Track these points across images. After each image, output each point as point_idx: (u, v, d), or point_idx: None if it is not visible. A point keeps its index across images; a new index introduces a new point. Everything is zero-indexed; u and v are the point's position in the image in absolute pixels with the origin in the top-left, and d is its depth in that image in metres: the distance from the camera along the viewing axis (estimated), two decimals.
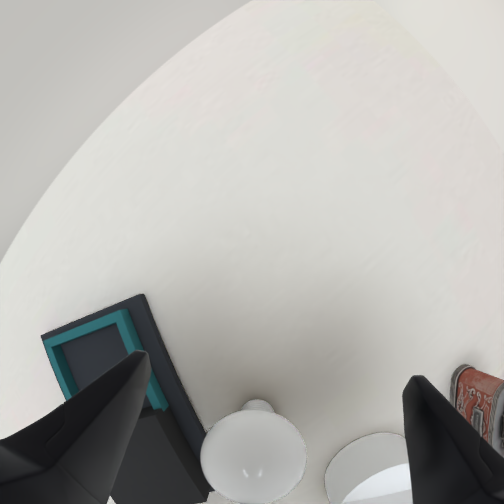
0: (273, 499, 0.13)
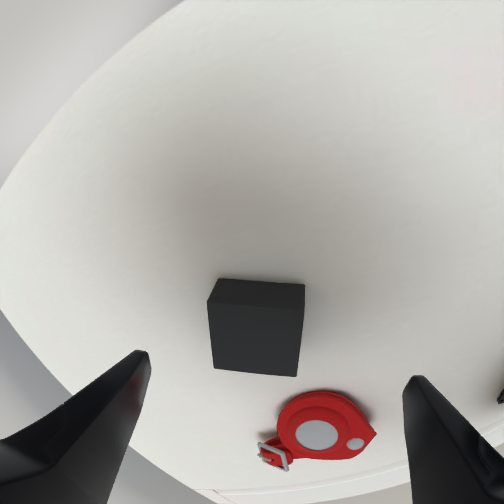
0: None
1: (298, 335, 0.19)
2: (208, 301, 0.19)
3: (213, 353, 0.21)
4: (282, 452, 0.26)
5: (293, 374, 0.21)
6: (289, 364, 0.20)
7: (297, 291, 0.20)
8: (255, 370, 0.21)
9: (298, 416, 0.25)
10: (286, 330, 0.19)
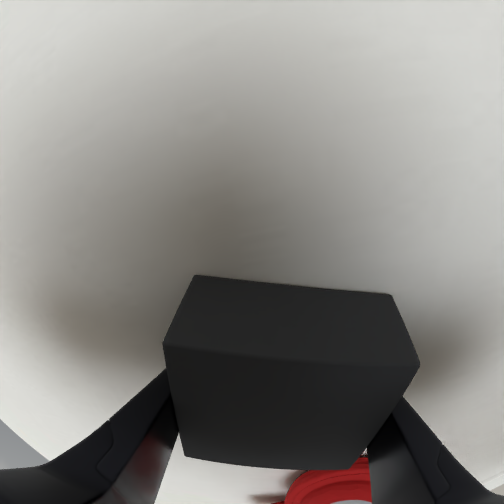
0: None
1: (384, 414, 0.07)
2: (167, 342, 0.07)
3: (183, 438, 0.09)
4: None
5: (345, 467, 0.09)
6: (344, 456, 0.08)
7: (385, 312, 0.08)
8: (270, 465, 0.09)
9: (323, 494, 0.13)
10: (363, 406, 0.07)
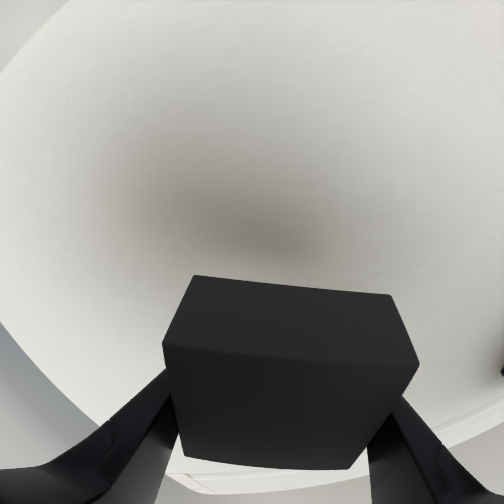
0: None
1: (383, 414, 0.07)
2: (166, 341, 0.07)
3: (182, 438, 0.09)
4: None
5: (345, 467, 0.09)
6: (344, 456, 0.08)
7: (385, 312, 0.08)
8: (270, 465, 0.09)
9: None
10: (362, 407, 0.07)
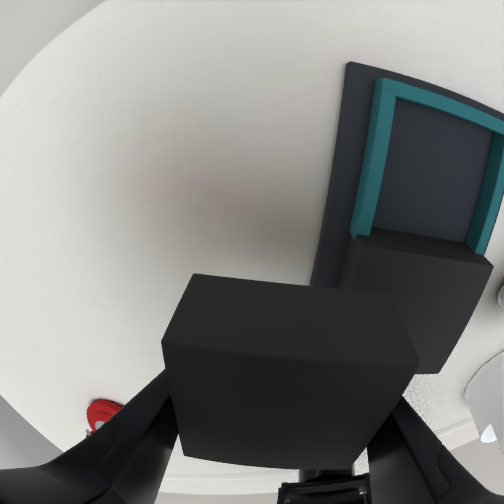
0: None
1: (385, 413, 0.07)
2: (165, 340, 0.07)
3: (182, 437, 0.08)
4: None
5: (345, 466, 0.09)
6: (344, 456, 0.08)
7: (385, 310, 0.08)
8: (270, 465, 0.09)
9: (94, 415, 0.30)
10: (363, 406, 0.07)
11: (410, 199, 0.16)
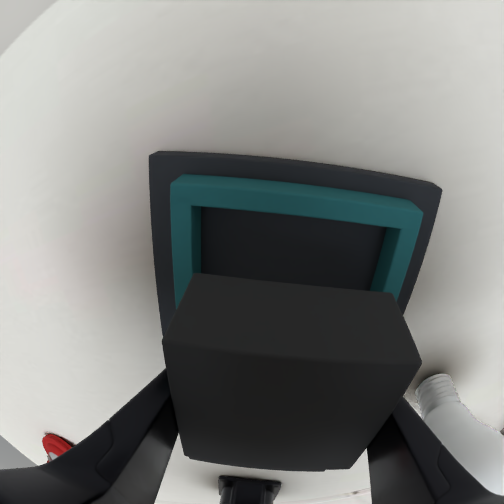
0: None
1: (386, 413, 0.07)
2: (166, 339, 0.07)
3: (182, 437, 0.08)
4: None
5: (346, 466, 0.09)
6: (345, 455, 0.08)
7: (386, 310, 0.08)
8: (271, 465, 0.09)
9: (47, 447, 0.28)
10: (364, 406, 0.07)
11: None
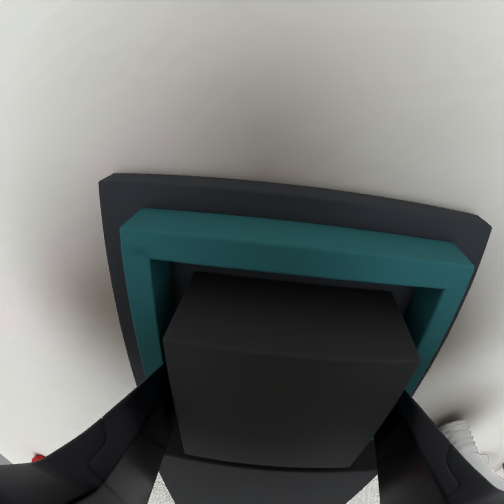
0: None
1: (385, 411, 0.07)
2: (167, 338, 0.07)
3: (183, 435, 0.09)
4: None
5: (345, 465, 0.09)
6: (345, 454, 0.08)
7: (385, 309, 0.08)
8: (270, 463, 0.09)
9: None
10: (363, 404, 0.07)
11: None
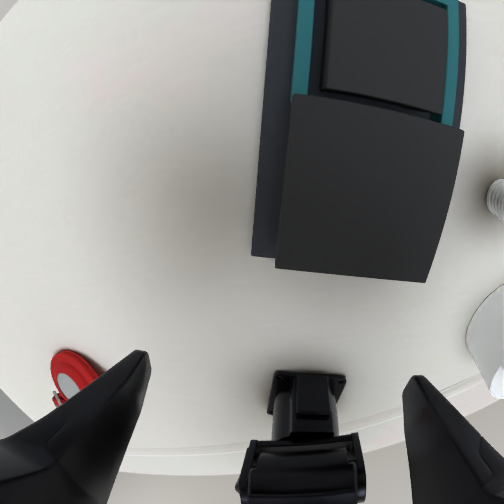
0: None
1: (444, 42, 0.10)
2: None
3: (332, 56, 0.12)
4: (58, 399, 0.29)
5: (438, 107, 0.12)
6: (435, 87, 0.12)
7: None
8: (390, 94, 0.12)
9: (56, 368, 0.28)
10: (431, 30, 0.10)
11: None
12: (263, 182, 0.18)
